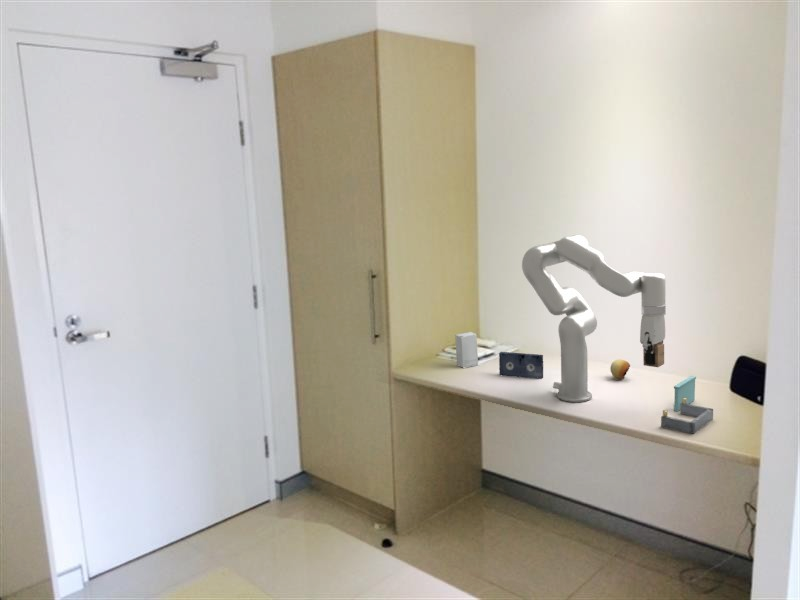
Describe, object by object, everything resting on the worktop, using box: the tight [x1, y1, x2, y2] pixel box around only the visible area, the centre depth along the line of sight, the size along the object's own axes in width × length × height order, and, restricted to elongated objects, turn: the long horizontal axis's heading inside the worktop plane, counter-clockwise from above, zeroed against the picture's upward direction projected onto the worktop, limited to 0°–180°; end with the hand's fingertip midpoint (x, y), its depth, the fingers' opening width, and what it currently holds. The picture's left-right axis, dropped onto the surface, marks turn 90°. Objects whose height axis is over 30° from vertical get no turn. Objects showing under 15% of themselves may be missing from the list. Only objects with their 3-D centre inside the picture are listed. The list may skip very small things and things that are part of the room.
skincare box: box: [454, 331, 479, 368], centre depth 289 cm, size 8×6×15 cm
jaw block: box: [642, 342, 665, 368], centre depth 219 cm, size 5×5×8 cm
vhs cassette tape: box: [498, 351, 544, 380], centre depth 269 cm, size 18×3×10 cm, turn 63°
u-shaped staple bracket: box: [660, 398, 714, 435], centre depth 210 cm, size 10×17×6 cm, turn 134°
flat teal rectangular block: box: [673, 375, 697, 412], centre depth 226 cm, size 2×15×9 cm, turn 135°
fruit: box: [609, 359, 631, 380], centre depth 259 cm, size 8×8×8 cm
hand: (653, 361), depth 219 cm, fingers closed on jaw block, 5 cm apart
